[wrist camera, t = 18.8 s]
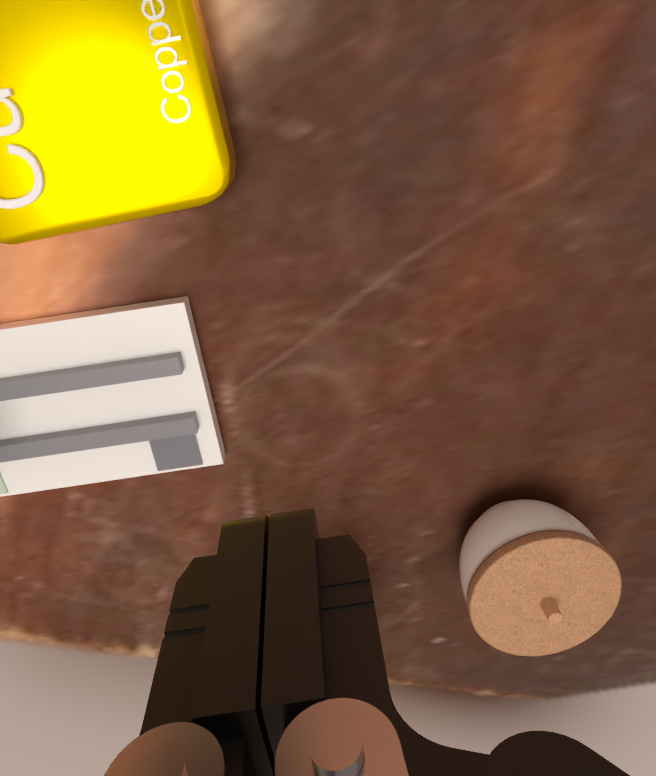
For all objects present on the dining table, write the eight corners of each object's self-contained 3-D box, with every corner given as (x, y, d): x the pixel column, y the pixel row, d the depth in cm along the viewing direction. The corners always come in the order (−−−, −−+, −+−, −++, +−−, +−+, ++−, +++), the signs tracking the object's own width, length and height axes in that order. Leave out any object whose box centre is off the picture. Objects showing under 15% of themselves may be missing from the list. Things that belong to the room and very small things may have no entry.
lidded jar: (504, 451, 46) (553, 528, 37) (602, 514, 49) (668, 599, 40) (417, 547, 49) (443, 638, 41) (513, 601, 52) (557, 696, 44)
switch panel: (-114, 340, 40) (-139, 354, 37) (187, 296, 39) (181, 306, 37) (-44, 492, 44) (-61, 512, 42) (225, 453, 44) (221, 471, 42)
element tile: (244, 190, 37) (238, 199, 33) (11, 238, 38) (-26, 254, 33) (174, -108, 31) (155, -144, 27) (-105, -46, 32) (-168, -72, 27)
